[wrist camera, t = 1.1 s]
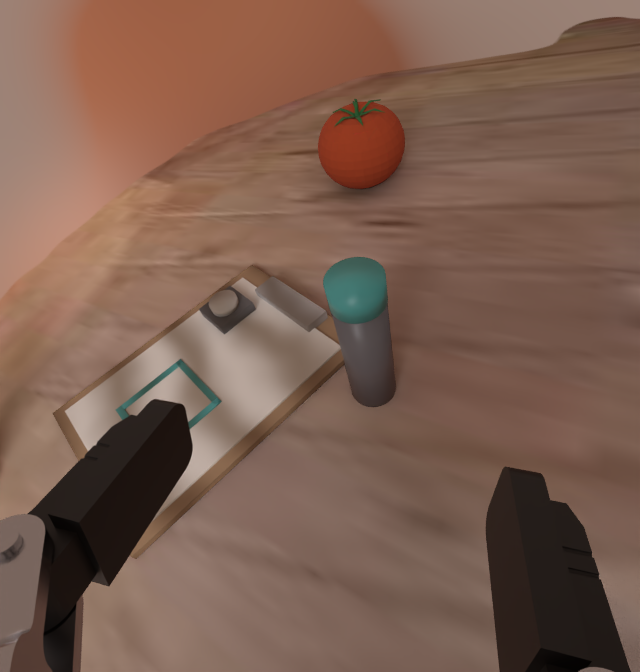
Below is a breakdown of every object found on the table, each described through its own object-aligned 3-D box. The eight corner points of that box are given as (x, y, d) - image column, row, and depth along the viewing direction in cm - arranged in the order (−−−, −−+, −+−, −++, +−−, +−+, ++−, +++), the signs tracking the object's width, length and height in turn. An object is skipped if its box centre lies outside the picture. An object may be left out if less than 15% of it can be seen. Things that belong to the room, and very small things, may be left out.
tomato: (310, 185, 55) (292, 106, 47) (372, 151, 57) (364, 71, 50) (356, 217, 49) (344, 132, 41) (423, 178, 51) (423, 91, 43)
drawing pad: (253, 268, 46) (246, 250, 44) (366, 343, 37) (363, 324, 35) (57, 416, 39) (37, 402, 37) (135, 558, 29) (114, 550, 27)
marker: (371, 361, 36) (352, 249, 26) (405, 384, 34) (398, 272, 24) (341, 390, 34) (310, 283, 25) (375, 416, 32) (355, 311, 23)
